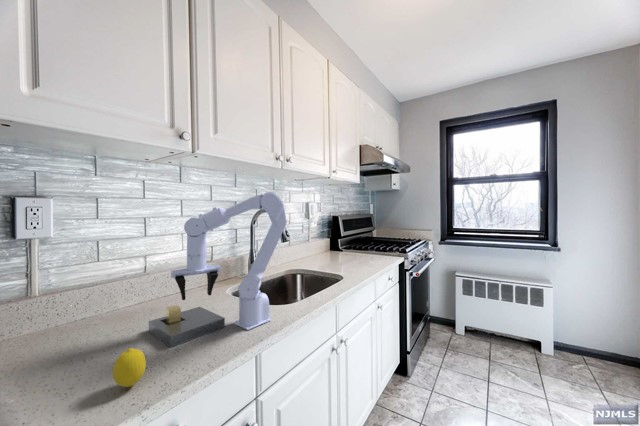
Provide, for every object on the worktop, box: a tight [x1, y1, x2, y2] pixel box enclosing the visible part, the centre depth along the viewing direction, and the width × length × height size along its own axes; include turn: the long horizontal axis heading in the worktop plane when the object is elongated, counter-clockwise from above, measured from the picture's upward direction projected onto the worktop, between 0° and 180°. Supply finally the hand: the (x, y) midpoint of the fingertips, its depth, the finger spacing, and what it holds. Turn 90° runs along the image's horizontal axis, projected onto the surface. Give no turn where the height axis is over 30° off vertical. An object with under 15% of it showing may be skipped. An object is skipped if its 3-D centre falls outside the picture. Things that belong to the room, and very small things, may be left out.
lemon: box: [112, 347, 147, 388], centre depth 54 cm, size 6×6×8 cm
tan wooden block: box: [165, 304, 182, 325], centre depth 80 cm, size 3×4×7 cm
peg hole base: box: [148, 306, 226, 348], centre depth 81 cm, size 16×16×3 cm
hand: (196, 296), depth 83 cm, fingers open, 7 cm apart
